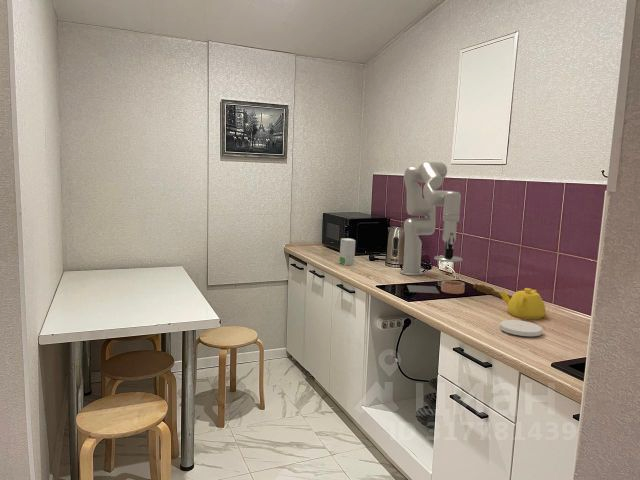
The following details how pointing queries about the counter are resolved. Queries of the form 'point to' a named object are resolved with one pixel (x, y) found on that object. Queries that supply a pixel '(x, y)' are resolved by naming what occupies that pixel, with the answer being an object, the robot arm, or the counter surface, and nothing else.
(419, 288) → the mat
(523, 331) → the plastic lid
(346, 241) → the white cylinder
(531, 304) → the teapot
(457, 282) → the bowl
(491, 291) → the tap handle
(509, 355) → the counter surface
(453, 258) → the lid
